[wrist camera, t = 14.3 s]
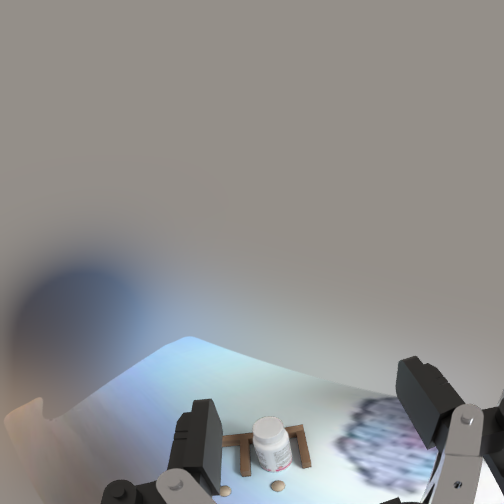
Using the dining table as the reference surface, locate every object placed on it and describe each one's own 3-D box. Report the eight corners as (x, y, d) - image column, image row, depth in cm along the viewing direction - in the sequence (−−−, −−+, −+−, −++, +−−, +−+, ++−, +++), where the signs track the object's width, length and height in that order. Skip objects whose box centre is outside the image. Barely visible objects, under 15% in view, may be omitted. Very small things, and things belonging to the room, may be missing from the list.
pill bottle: (293, 447, 39) (287, 413, 36) (291, 472, 34) (285, 440, 32) (261, 448, 40) (251, 414, 37) (258, 473, 35) (246, 440, 33)
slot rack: (303, 430, 42) (302, 424, 41) (315, 485, 31) (314, 480, 31) (190, 443, 42) (187, 438, 42) (182, 497, 32) (179, 492, 31)
